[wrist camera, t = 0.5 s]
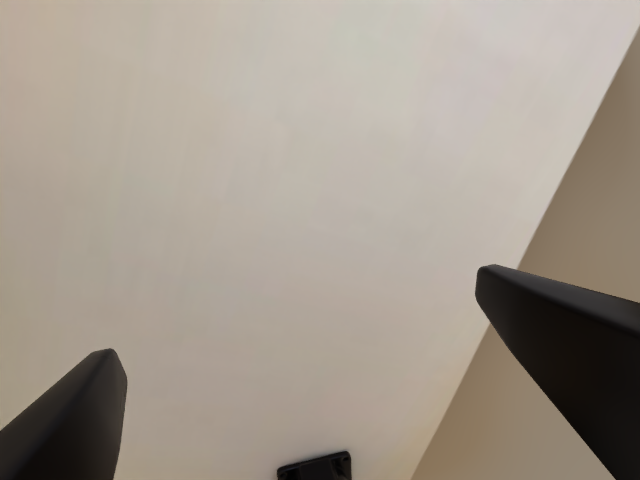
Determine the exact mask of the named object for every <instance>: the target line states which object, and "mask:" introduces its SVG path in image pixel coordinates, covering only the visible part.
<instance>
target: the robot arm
mask: <svg viewBox="0 0 640 480" xmlns="http://www.w3.org/2000/svg"><path fill="white" fill-rule="evenodd" d="M475 297H476V300H477V302H478V304H479V306H480V307H481V309H482V310H483V312H484V313H485V315H486V316H487V318H488V319H489V321H490V322H491V324H492V325H493V326H494V328H495V329H496V331H497V333H498V334H499V336H500V337H501V339H502V340H503V341H504V343H505V344H506V346H507V347H508V349H509V350H510V351H511V353H512V354H513V355H514V356H515V358H516V359H517V360H518V361H519V362H520V364H521V365H522V366H523V367H524V368H525V370H526V371H527V372H528V373H529V375H530V376H531V377H532V378H533V380H534V381H535V382H536V383H537V384H538V386H540V388H541V389H542V391H543V392H544V393H545V394H546V395H547V397H548V398H549V399H550V400H551V401H552V403H553V404H554V405H555V406H556V407H557V409H558V410H559V411H560V412H561V413H562V415H563V416H564V417H565V418H566V420H567V421H568V422H569V423H570V425H571V426H572V427H573V428H574V429H575V431H576V432H577V433H578V434H579V435H580V437H581V438H582V439H583V440H584V441H585V443H586V444H587V445H588V446H589V448H590V449H591V450H592V451H593V452H594V454H595V455H596V456H597V457H598V458H599V460H600V461H601V462H602V464H603V465H604V466H605V467H606V468H607V470H608V471H609V472H610V473H611V474H612V476H613V477H614V478H615V479H616V480H640V303H638V302H634V301H630V300H626V299H623V298H619V297H616V296H612V295H608V294H604V293H600V292H597V291H593V290H589V289H586V288H581V287H578V286H574V285H570V284H567V283H563V282H559V281H556V280H552V279H548V278H544V277H541V276H537V275H533V274H530V273H526V272H522V271H518V270H515V269H511V268H507V267H503V266H500V265H496V264H493V265H488V266H483V267H481V268H479V270H478V272H477V280H476V290H475ZM126 393H127V376H126V373H125V371H124V369H123V367H122V364H121V362H120V360H119V358H118V355H117V353H116V352H115V350H114V349H111V348H109V349H104V350H100V351H95V352H92V353H91V354H89V355H88V356H87V357H86V358H85V359H84V360H82V361H81V362H80V363H79V364H78V365H77V366H75V367H74V368H73V369H72V370H71V371H70V372H68V373H67V374H66V375H65V376H64V377H63V378H61V379H60V380H59V381H58V382H57V383H56V384H54V385H53V386H52V387H51V388H50V389H49V390H47V391H46V392H45V393H44V394H43V395H42V396H40V397H39V398H38V399H37V400H36V401H35V402H33V403H32V404H31V405H30V406H29V407H28V408H26V409H25V410H24V411H23V412H22V413H21V414H19V415H18V416H17V417H16V418H15V419H14V420H12V421H11V422H10V423H9V424H8V425H7V426H5V427H4V428H3V429H2V430H1V431H0V480H113V478H114V473H115V469H116V465H117V460H118V455H119V450H120V443H121V436H122V427H123V419H124V410H125V402H126ZM277 477H278V480H352V477H351V457H350V454H349V452H347V451H344V452H340V453H336V454H332V455H328V456H324V457H320V458H316V459H312V460H308V461H304V462H300V463H296V464H292V465H288V466H284V467H281V468H279V469H278V470H277Z"/></svg>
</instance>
